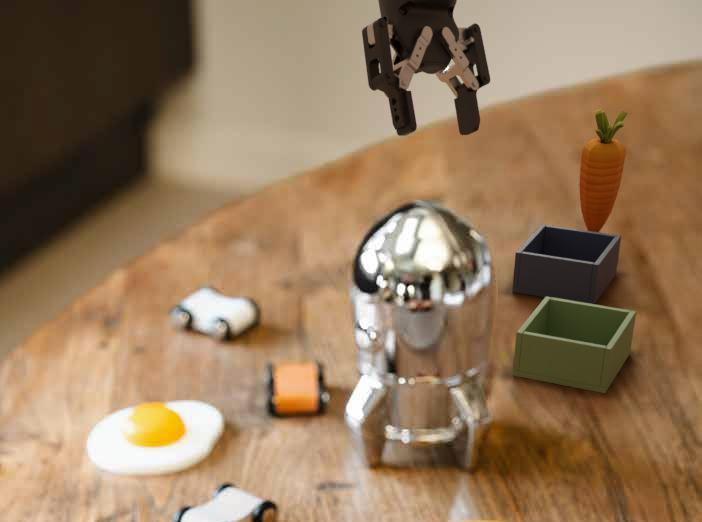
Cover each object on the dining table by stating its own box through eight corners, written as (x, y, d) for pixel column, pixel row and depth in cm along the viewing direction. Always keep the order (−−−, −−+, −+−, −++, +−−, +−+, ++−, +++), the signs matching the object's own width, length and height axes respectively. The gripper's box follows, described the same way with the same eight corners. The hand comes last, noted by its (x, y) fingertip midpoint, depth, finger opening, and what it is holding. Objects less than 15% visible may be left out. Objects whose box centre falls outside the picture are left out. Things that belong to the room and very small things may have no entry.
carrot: (613, 229, 148) (630, 102, 139) (614, 244, 144) (632, 115, 135) (572, 228, 148) (586, 101, 139) (572, 243, 145) (587, 114, 136)
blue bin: (616, 274, 137) (621, 235, 134) (593, 305, 130) (598, 265, 127) (537, 262, 140) (541, 223, 137) (512, 292, 134) (515, 252, 131)
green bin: (630, 353, 121) (636, 311, 118) (605, 393, 114) (611, 349, 112) (541, 337, 124) (545, 296, 122) (512, 375, 118) (516, 332, 115)
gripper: (381, -59, 111) (411, 121, 113) (490, -48, 118) (516, 121, 120) (331, -25, 117) (361, 146, 119) (438, -16, 125) (464, 143, 127)
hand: (439, 133), depth 120 cm, fingers open, 8 cm apart
